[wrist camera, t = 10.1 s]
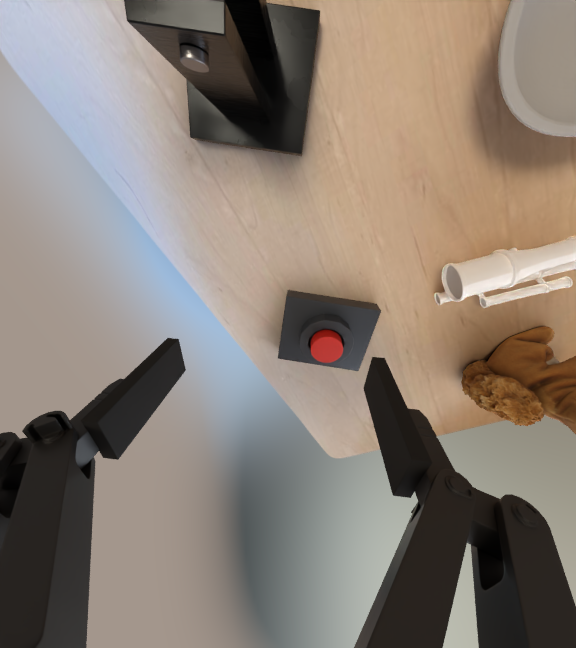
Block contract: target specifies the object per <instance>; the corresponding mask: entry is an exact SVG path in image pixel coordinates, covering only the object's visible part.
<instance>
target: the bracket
mask: <svg viewBox="0 0 576 648" xmlns="http://www.w3.org/2000/svg"><path fill="white" fill-rule="evenodd" d="M124 2H125V9H126V16H127V21H128V22H129V23H130V24H131V25H132V26H133V27H134V28H135V29H136V30H137V31H138V32H139V33H140V34H141V35H142V36H143V37H144V38H145V39H146V40H147V41H148V42H149V43H150V44H151V45H152V46H153V47H154V48H155V49H156V50H157V51H158V52H159V53H160V54H162V55H163V56H164V57H165V58H166V59H167V60H168V61H169V62H170V63H171V64H172V65H173V66H174V67H175V68H176V69H177V70H178V71H179V72H180V73H181V74H182V75H183V76H184V77H185V78H186V79H187V93H188V108H189V123H190V137H191V138H193V139H195V140H199V141H205V142H212V143H218V144H225V145H232V146H238V147H245V148H251V149H258V150H265V151H271V152H278V153H284V154H291V155H298V156H302V151H303V144H304V136H305V128H306V121H307V113H308V106H309V98H310V90H311V83H312V75H313V68H314V60H315V52H316V45H317V37H318V30H319V22H320V11H319V10H312V9H305V8H298V7H292V6H285V5H278V4H271V3H266V0H224V1H222V0H124Z"/></svg>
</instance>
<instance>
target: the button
mask: <svg viewBox="0 0 576 648" xmlns="http://www.w3.org/2000/svg"><path fill="white" fill-rule="evenodd" d="M342 353H343V345H342V341H341V337H340V336H339V335H338V334H337V333H336V332H334V331H332V330H321V331H318V332H317V333H315V334H314V335H313V337H312V338H311V354H312V356H313V357H314V358H315V359H316V360H318V361H320V362H323V363H330V362H334V361H336V360H337V359H339V358H340V356H341V355H342Z"/></svg>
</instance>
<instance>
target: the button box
mask: <svg viewBox="0 0 576 648" xmlns="http://www.w3.org/2000/svg"><path fill="white" fill-rule="evenodd" d="M380 313H381V310H380V309H379V307H378V305H377V304H374V303H367V302H361V301H355V300H348V299H342V298H335V297H329V296H323V295H316V294H310V293H303V292H297V291H291V290H288V292H287V296H286V304H285V311H284V318H283V325H282V332H281V340H280V347H279V354H278V358H279V359H285V360H291V361H298V362H304V363H310V364H317V365H323V366H329V367H335V368H342V369H348V370H354V371H358V370H359V368H360V365H361V362H362V360H363V357H364V355H365V352H366V349H367V347H368V344H369V341H370V339H371V336H372V334H373V331H374V328H375V326H376V323H377V320H378V318H379V315H380ZM321 330H332V331H334V332H336V333H337V334H338V335H339V336H340V337H341V341H342V345H343V353H342V355H341V356H340V358H339V359H337V360H336V361H334V362H330V363H323V362H320V361H318V360H316V359H315V358H314V357H313V356H312V354H311V338H312V337H313V335H314V334H315V333H317V332H318V331H321Z"/></svg>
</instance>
